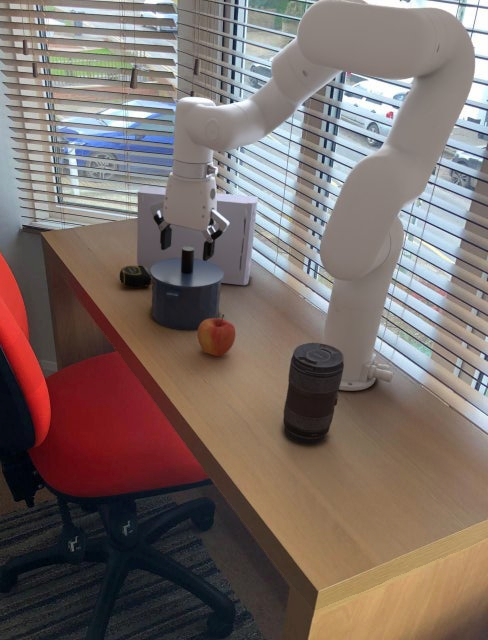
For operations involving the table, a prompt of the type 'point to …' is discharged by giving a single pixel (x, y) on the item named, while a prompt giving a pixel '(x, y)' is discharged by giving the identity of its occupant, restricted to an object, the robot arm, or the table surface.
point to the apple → (216, 336)
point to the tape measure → (134, 276)
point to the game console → (200, 235)
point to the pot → (184, 305)
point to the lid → (186, 271)
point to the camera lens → (312, 392)
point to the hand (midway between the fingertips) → (186, 253)
